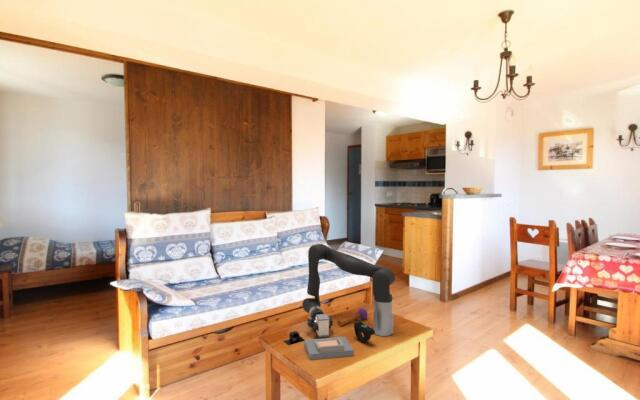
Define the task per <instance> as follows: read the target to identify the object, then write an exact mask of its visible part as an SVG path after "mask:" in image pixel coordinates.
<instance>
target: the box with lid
mask: <svg viewBox="0 0 640 400" xmlns="http://www.w3.org/2000/svg"><path fill="white" fill-rule="evenodd" d="M316 317H317V324H318V331H317V330H316V329H315V330H316V331H315V332H316V337H318V339H322V338H329V336H330V330H329V318H330V317H329V316H328V314H327V313H324V314H319V315H316Z"/></svg>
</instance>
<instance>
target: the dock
mask: <svg viewBox="0 0 640 400" xmlns="http://www.w3.org/2000/svg"><path fill="white" fill-rule="evenodd" d="M304 340H305V341H304V346H305V347H304V348H305V350H306V353H307V356H308V359H309V360H310V361H314V360H316V361H317V360H325V359H334V358H343V357H344V358H345V357H354V356H355V355H354V354H355V353H354V352H355V351H354V350H355V349H354V348H353V347H352V345H351V343H350V342H349V341H348V339H347V337H346V336H335V337H328V338H326V337H321V339H319V338H313V339H304Z"/></svg>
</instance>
